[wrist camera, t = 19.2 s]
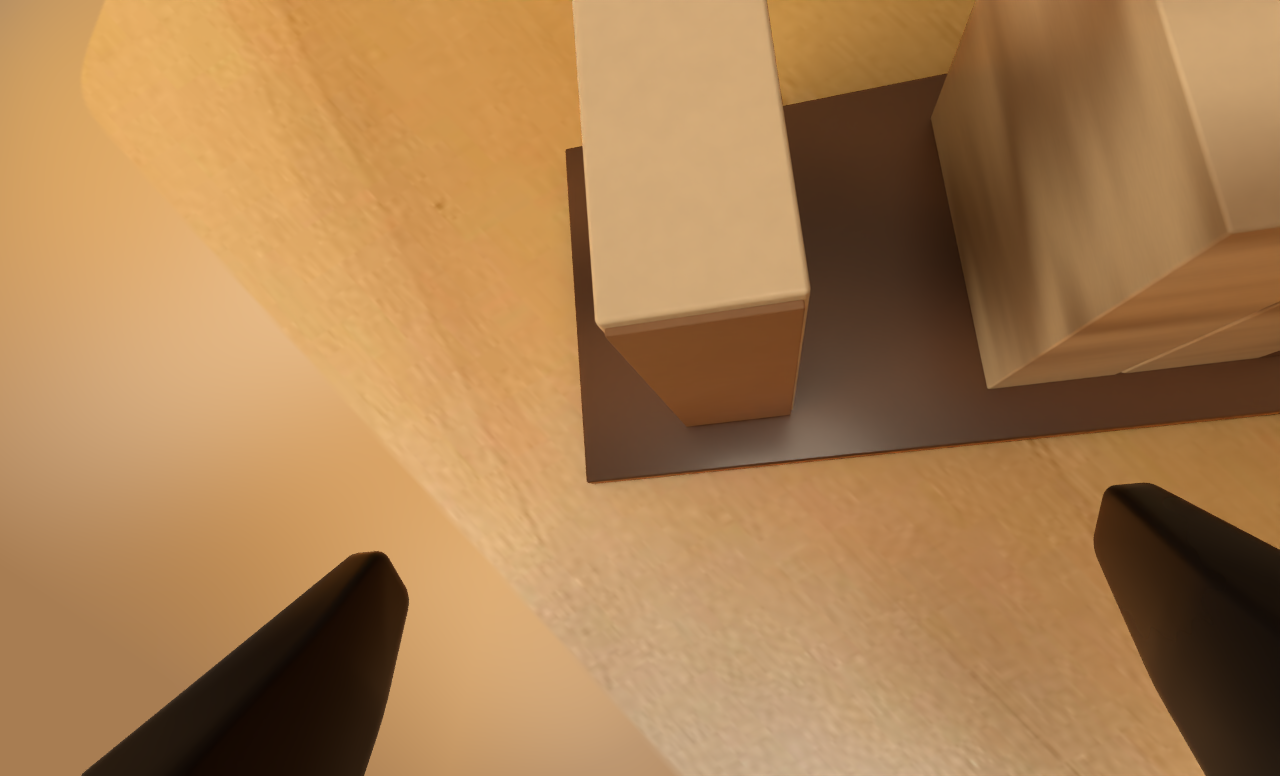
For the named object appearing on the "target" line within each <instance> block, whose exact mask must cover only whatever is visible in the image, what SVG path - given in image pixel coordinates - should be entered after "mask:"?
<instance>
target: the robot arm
mask: <svg viewBox="0 0 1280 776" xmlns="http://www.w3.org/2000/svg"><path fill="white" fill-rule="evenodd" d="M1094 549H1095V553H1096V556H1097V559H1098V561H1099V564H1100V566H1101V568H1102V570H1103V573H1104V575H1105V577H1106V579H1107V582H1108V584H1109V586H1110V588H1111V591H1112V593H1113V595H1114V597H1115V600H1116V602H1117V604H1118V606H1119V609H1120V611H1121V613H1122V616H1123V618H1124V620H1125V622H1126V625H1127V627H1128V629H1129V631H1130V634H1131V636H1132V638H1133V640H1134V643H1135V645H1136V647H1137V649H1138V652H1139V654H1140V656H1141V658H1142V661H1143V663H1144V665H1145V667H1146V669H1147V671H1148V674H1149V676H1150V678H1151V680H1152V682H1153V684H1154V686H1155V688H1156V690H1157V692H1158V693H1159V695H1160V697H1161V699H1162V701H1163V702H1164V704H1165V706H1166V708H1167V710H1168V711H1169V713H1170V715H1171V717H1172V718H1173V720H1174V722H1175V723H1176V725H1177V727H1178V729H1179V730H1180V732H1181V734H1182V736H1183V737H1184V739H1185V741H1186V742H1187V744H1188V746H1189V748H1190V749H1191V751H1192V753H1193V755H1194V756H1195V758H1196V760H1197V761H1198V763H1199V765H1200V767H1201V768H1202V770H1203V772H1204V774H1205V775H1206V776H1280V550H1279V549H1277V548H1275V547H1273V546H1271V545H1270V544H1268V543H1266V542H1264V541H1262V540H1260V539H1258V538H1256V537H1254V536H1252V535H1250V534H1248V533H1247V532H1245V531H1243V530H1241V529H1239V528H1237V527H1235V526H1233V525H1231V524H1229V523H1227V522H1226V521H1224V520H1222V519H1220V518H1218V517H1216V516H1214V515H1212V514H1210V513H1208V512H1206V511H1205V510H1203V509H1201V508H1199V507H1197V506H1195V505H1193V504H1191V503H1189V502H1187V501H1185V500H1183V499H1182V498H1180V497H1178V496H1176V495H1174V494H1172V493H1170V492H1168V491H1166V490H1164V489H1162V488H1161V487H1158V486H1156V485H1154V484H1150V483H1134V484H1123V485H1114V486H1111V487H1109V488H1108V489H1107V490H1106V491H1105V492H1104V495H1103V498H1102V502H1101V507H1100V511H1099V515H1098V520H1097V524H1096V528H1095V533H1094ZM408 606H409V597H408V592H407V589H406V587H405V585H404V584H403V582H402V580H401V579H400V577H399V575H398V573H397V572H396V570H395V568H394V566H393V565H392V563H391V561H390V559H389V558H388V557H387V555H385V554H384V553H382V552H379V551H374V552H363V553H356V554H353V555H351V556H349V557H348V558H347V559H346V560H344V561H343V562H342V563H340V564H339V565H338V566H337V567H336V568H334V569H333V570H332V571H331V572H329V573H328V574H327V575H326V576H324V577H323V578H322V579H321V580H320V581H318V582H317V583H316V584H315V585H313V586H312V587H311V588H310V589H308V590H307V591H306V592H305V593H304V594H302V595H301V596H300V597H299V598H297V599H296V600H295V601H294V602H293V603H291V604H290V605H289V606H288V607H286V608H285V609H284V610H283V611H281V612H280V613H279V614H278V615H277V616H275V617H274V618H273V619H272V620H270V621H269V622H268V623H267V624H266V625H264V626H263V627H262V628H261V629H259V630H258V631H257V632H256V633H255V634H253V635H252V636H251V637H250V638H248V639H247V640H246V641H245V642H244V643H242V644H241V645H240V646H239V647H237V648H236V649H235V650H234V651H232V652H231V653H230V654H229V655H227V656H226V657H225V658H224V659H223V660H221V661H220V662H219V663H218V664H216V665H215V666H214V667H213V668H212V669H210V670H209V671H208V672H206V673H205V674H204V675H203V676H202V677H200V678H199V679H198V680H197V681H195V682H194V683H193V684H192V685H191V686H189V687H188V688H187V689H186V690H185V691H183V692H182V693H181V694H179V696H177V697H176V698H175V699H173V700H172V701H171V702H170V703H168V704H167V705H166V706H165V707H164V708H162V709H161V710H160V711H159V712H157V713H156V714H155V715H154V716H153V717H151V718H150V719H149V720H148V721H146V722H145V723H144V724H143V725H141V726H140V727H139V728H138V729H137V730H135V731H134V732H133V733H132V734H130V735H129V736H128V737H127V738H125V739H124V740H123V741H122V742H120V743H119V744H118V745H117V746H116V747H114V748H113V749H112V750H111V751H109V752H108V753H107V754H106V755H105V756H103V757H102V758H101V759H100V760H98V761H97V762H96V763H95V764H93V765H92V766H91V767H90V768H89V769H87V770H86V771H85V772H84V773H83V774H82V776H364V774H365V771H366V768H367V765H368V762H369V759H370V756H371V753H372V750H373V747H374V744H375V741H376V738H377V735H378V731H379V728H380V725H381V722H382V718H383V715H384V711H385V707H386V703H387V700H388V695H389V691H390V687H391V682H392V678H393V673H394V669H395V665H396V660H397V655H398V651H399V647H400V642H401V638H402V634H403V629H404V625H405V620H406V616H407V612H408Z"/></svg>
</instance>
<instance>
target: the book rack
mask: <svg viewBox="0 0 1280 776" xmlns="http://www.w3.org/2000/svg"><path fill="white" fill-rule="evenodd" d="M783 111H784V117H785V124H786V130H787V137H788V143H789V150H790V157H791V163H792V170H793V176H794V183H795V189H796V196H797V203H798V209H799V216H800V222H801V229H802V235H803V242H804V248H805V255H806V262H807V268H808V275H809V281H810V288H811V290H810V297H809V303H808V310H807V317H806V324H805V330H804V337H803V344H802V351H801V357H800V364H799V371H798V378H797V384H796V391H795V398H794V405H793V410H791V415H785V416H776V417H768V418H759V419H750V420H742V421H733V422H724V423H716V424H707V425H698V426H690V427H686V426H685V425H684V423H683V422H682V421H681V420H680V419H679V418H678V417H677V416H676V415H675V414H674V412H673V411H672V410H671V409H670V408H669V407H668V406H667V405H666V404H665V402H664V401H663V400H662V399H661V398H660V397H659V396H658V395H657V394H656V392H655V391H654V390H653V389H652V388H651V387H650V386H649V385H648V384H647V383H646V381H645V380H644V379H643V378H642V377H641V376H640V375H639V374H638V373H637V371H636V370H635V369H634V368H633V367H632V366H631V365H630V364H629V363H628V361H627V360H626V359H625V358H624V357H623V356H622V355H621V354H620V353H619V352H618V350H617V349H616V348H615V347H614V346H613V345H612V344H611V343H610V342H609V340H608V339H607V338H606V337H605V333H604V332H603V331H602V330H601V329H600V328H599V326H598V325H597V324H596V322H595V313H594V300H593V286H592V272H591V258H590V244H589V230H588V216H587V202H586V188H585V174H584V160H583V146H580V147H575V148H570V149H566V167H567V182H568V198H569V213H570V228H571V244H572V259H573V275H574V290H575V306H576V321H577V337H578V352H579V368H580V383H581V399H582V414H583V430H584V445H585V461H586V476H587V482H588V483H591V484H597V483H606V482H616V481H626V480H636V479H646V478H655V477H665V476H675V475H685V474H695V473H704V472H714V471H724V470H734V469H744V468H753V467H763V466H773V465H783V464H793V463H802V462H812V461H822V460H832V459H842V458H851V457H861V456H871V455H881V454H891V453H900V452H910V451H920V450H930V449H940V448H949V447H959V446H969V445H979V444H989V443H998V442H1008V441H1018V440H1028V439H1038V438H1047V437H1057V436H1067V435H1077V434H1087V433H1096V432H1106V431H1116V430H1126V429H1136V428H1145V427H1155V426H1165V425H1175V424H1185V423H1194V422H1204V421H1214V420H1224V419H1234V418H1243V417H1253V416H1263V415H1273V414H1280V0H976V1H975V3H974V6H973V9H972V11H971V14H970V16H969V19H968V22H967V24H966V27H965V30H964V32H963V35H962V37H961V40H960V43H959V45H958V48H957V51H956V53H955V56H954V58H953V61H952V64H951V66H950V69H949V72H948V73H947V74H942V75H937V76H932V77H927V78H922V79H917V80H912V81H907V82H902V83H897V84H892V85H887V86H882V87H877V88H872V89H867V90H862V91H857V92H852V93H847V94H842V95H836V96H831V97H826V98H821V99H816V100H811V101H806V102H801V103H796V104H791V105H786V106H783Z"/></svg>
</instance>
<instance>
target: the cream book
mask: <svg viewBox="0 0 1280 776" xmlns="http://www.w3.org/2000/svg"><path fill="white" fill-rule="evenodd" d="M572 7H573V21H574V35H575V49H576V63H577V77H578V91H579V105H580V119H581V132H582V146H583V160H584V174H585V188H586V202H587V216H588V230H589V244H590V258H591V272H592V286H593V300H594V313H595V322H596V324H597V325H598V326H599V328H600V329H601V330H602V331H603V332H604V333H605V337H606V338H607V339H608V340H609V342H610V343H611V344H612V345H613V346H614V347H615V348H616V349H617V350H618V352H619V353H620V354H621V355H622V356H623V357H624V358H625V359H626V360H627V361H628V363H629V364H630V365H631V366H632V367H633V368H634V369H635V370H636V371H637V373H638V374H639V375H640V376H641V377H642V378H643V379H644V380H645V381H646V383H647V384H648V385H649V386H650V387H651V388H652V389H653V390H654V391H655V392H656V394H657V395H658V396H659V397H660V398H661V399H662V400H663V401H664V402H665V404H666V405H667V406H668V407H669V408H670V409H671V410H672V411H673V412H674V414H675V415H676V416H677V417H678V418H679V419H680V420H681V421H682V422H683V423H684V425H685V426H686V427H690V426H698V425H707V424H716V423H724V422H733V421H742V420H750V419H759V418H768V417H776V416H785V415H791V410H793V405H794V398H795V391H796V384H797V378H798V371H799V364H800V357H801V351H802V344H803V337H804V330H805V324H806V317H807V310H808V303H809V297H810V290H811V288H810V281H809V275H808V268H807V262H806V255H805V248H804V242H803V235H802V229H801V222H800V216H799V209H798V203H797V196H796V189H795V183H794V176H793V170H792V163H791V157H790V150H789V143H788V137H787V130H786V124H785V117H784V111H783V104H782V98H781V91H780V84H779V78H778V71H777V65H776V58H775V52H774V45H773V38H772V32H771V25H770V19H769V12H768V6H767V0H572Z"/></svg>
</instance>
